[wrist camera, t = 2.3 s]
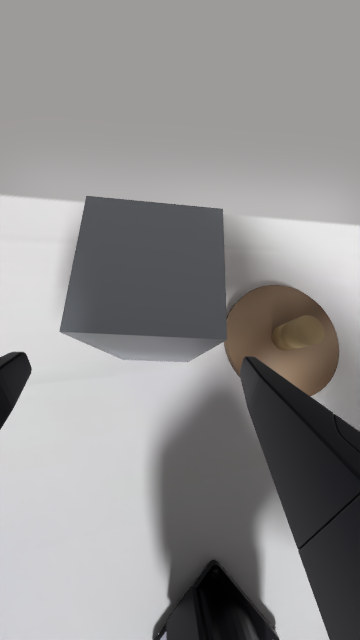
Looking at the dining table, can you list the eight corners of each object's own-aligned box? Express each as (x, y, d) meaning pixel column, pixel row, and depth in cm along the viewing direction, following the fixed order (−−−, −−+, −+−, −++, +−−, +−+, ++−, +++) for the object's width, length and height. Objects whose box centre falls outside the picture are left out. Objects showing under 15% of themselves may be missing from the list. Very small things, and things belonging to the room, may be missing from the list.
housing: (187, 362, 19) (227, 339, 8) (123, 359, 19) (59, 331, 7) (188, 302, 21) (222, 208, 9) (129, 298, 20) (86, 196, 9)
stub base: (348, 342, 21) (399, 332, 16) (287, 425, 18) (328, 441, 14) (268, 271, 22) (295, 244, 18) (200, 338, 20) (212, 326, 15)
